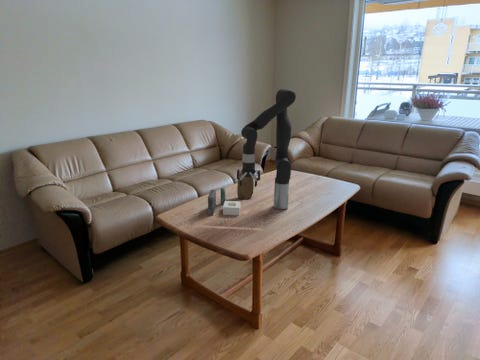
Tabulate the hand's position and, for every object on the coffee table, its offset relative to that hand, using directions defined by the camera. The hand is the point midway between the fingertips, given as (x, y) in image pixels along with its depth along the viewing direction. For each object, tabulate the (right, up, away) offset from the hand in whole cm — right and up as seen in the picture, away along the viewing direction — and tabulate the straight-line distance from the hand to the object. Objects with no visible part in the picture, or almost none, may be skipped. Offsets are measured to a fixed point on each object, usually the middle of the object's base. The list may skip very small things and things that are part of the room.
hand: (248, 186), depth 209 cm
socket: (-10, -16, +5) cm, 20 cm away
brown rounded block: (-1, -9, +32) cm, 33 cm away
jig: (-14, -17, +6) cm, 23 cm away
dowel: (-16, -13, +17) cm, 27 cm away
